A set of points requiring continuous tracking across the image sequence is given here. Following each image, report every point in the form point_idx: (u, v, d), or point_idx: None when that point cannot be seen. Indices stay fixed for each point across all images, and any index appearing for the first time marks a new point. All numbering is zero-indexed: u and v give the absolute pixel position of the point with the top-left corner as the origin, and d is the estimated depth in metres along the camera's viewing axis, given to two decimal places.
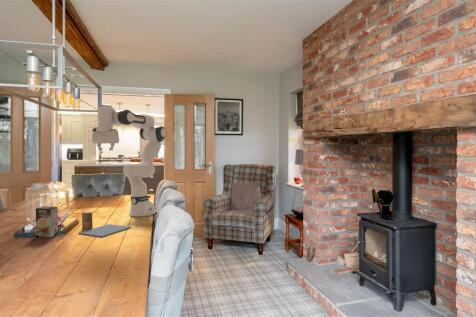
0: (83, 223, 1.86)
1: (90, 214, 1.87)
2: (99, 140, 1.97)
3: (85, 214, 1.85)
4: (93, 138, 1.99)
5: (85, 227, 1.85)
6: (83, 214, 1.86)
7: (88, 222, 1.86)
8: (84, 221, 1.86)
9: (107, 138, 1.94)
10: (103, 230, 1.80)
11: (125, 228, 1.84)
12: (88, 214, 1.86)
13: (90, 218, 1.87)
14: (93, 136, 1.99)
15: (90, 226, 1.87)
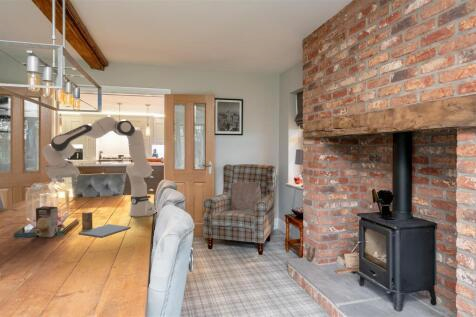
0: (83, 223, 1.86)
1: (90, 214, 1.87)
2: None
3: (85, 214, 1.85)
4: None
5: (85, 227, 1.85)
6: (83, 214, 1.86)
7: (88, 222, 1.86)
8: (84, 221, 1.86)
9: None
10: (103, 230, 1.80)
11: (125, 228, 1.84)
12: (88, 214, 1.86)
13: (90, 218, 1.87)
14: None
15: (90, 226, 1.87)
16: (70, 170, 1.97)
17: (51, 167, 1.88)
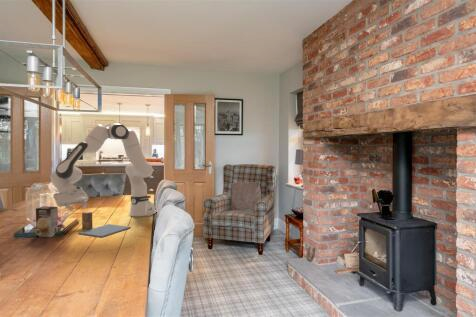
0: (83, 223, 1.86)
1: (90, 214, 1.87)
2: None
3: (85, 214, 1.85)
4: None
5: (85, 227, 1.85)
6: (83, 214, 1.86)
7: (88, 222, 1.86)
8: (84, 221, 1.86)
9: None
10: (103, 230, 1.80)
11: (125, 228, 1.84)
12: (88, 214, 1.86)
13: (90, 218, 1.87)
14: None
15: (90, 226, 1.87)
16: (78, 196, 1.95)
17: (60, 195, 1.85)
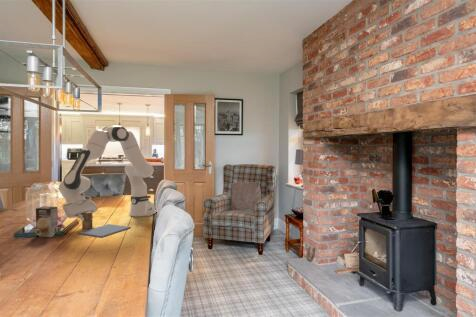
0: (83, 223, 1.86)
1: (90, 214, 1.87)
2: None
3: (85, 214, 1.85)
4: None
5: (85, 227, 1.85)
6: (83, 214, 1.86)
7: (88, 222, 1.86)
8: (84, 221, 1.86)
9: None
10: (103, 230, 1.80)
11: (125, 228, 1.84)
12: (88, 214, 1.86)
13: (90, 218, 1.87)
14: None
15: (90, 226, 1.87)
16: (87, 206, 1.92)
17: (69, 206, 1.82)
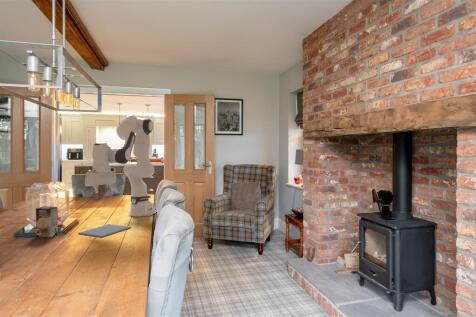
0: (95, 193, 1.82)
1: (105, 190, 1.82)
2: None
3: (101, 189, 1.79)
4: None
5: (94, 198, 1.82)
6: (99, 187, 1.80)
7: (99, 196, 1.82)
8: None
9: None
10: (103, 230, 1.80)
11: (125, 228, 1.84)
12: (103, 190, 1.80)
13: (103, 193, 1.82)
14: None
15: (99, 199, 1.84)
16: (107, 179, 1.85)
17: (92, 175, 1.74)
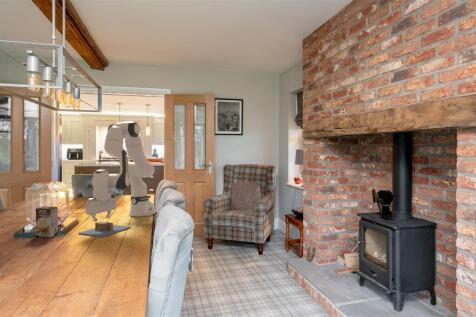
0: (99, 225, 1.81)
1: None
2: None
3: (106, 229, 1.79)
4: None
5: (96, 227, 1.82)
6: (106, 226, 1.79)
7: None
8: (101, 226, 1.80)
9: None
10: None
11: (125, 228, 1.84)
12: None
13: None
14: None
15: None
16: (108, 206, 1.85)
17: (92, 204, 1.75)
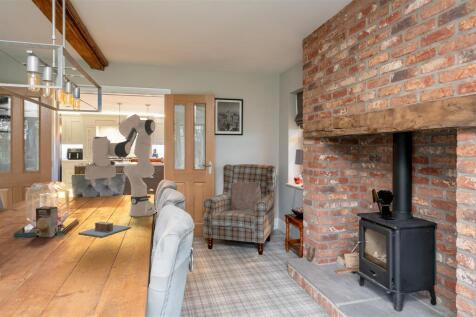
0: (99, 225, 1.81)
1: None
2: None
3: (106, 229, 1.79)
4: None
5: (96, 227, 1.82)
6: (106, 226, 1.79)
7: None
8: (101, 226, 1.80)
9: None
10: None
11: (125, 228, 1.84)
12: None
13: None
14: None
15: None
16: (107, 172, 1.84)
17: (92, 168, 1.74)
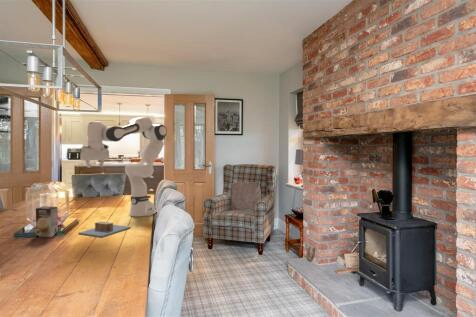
0: (99, 225, 1.81)
1: None
2: None
3: (106, 229, 1.79)
4: None
5: (96, 227, 1.82)
6: (106, 226, 1.79)
7: None
8: (101, 226, 1.80)
9: None
10: None
11: (125, 228, 1.84)
12: None
13: None
14: None
15: None
16: (101, 155, 2.02)
17: (87, 150, 1.92)
